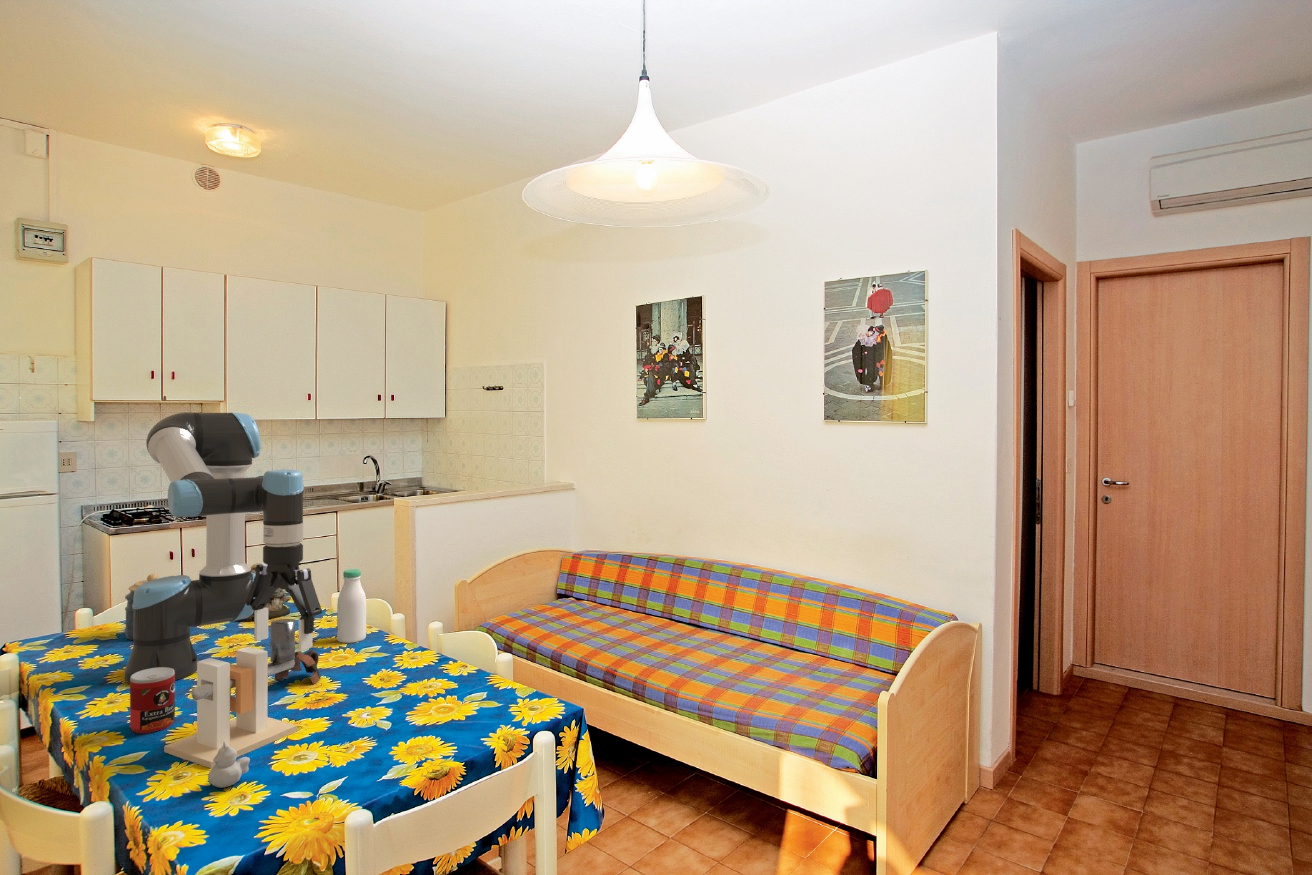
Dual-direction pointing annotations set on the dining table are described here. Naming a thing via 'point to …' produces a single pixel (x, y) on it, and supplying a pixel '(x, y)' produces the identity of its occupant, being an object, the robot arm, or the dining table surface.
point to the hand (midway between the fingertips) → (283, 644)
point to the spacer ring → (241, 689)
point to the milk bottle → (351, 609)
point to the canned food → (152, 699)
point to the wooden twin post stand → (215, 713)
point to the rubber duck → (227, 767)
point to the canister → (130, 602)
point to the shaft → (279, 654)
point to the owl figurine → (272, 603)
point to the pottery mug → (309, 663)
